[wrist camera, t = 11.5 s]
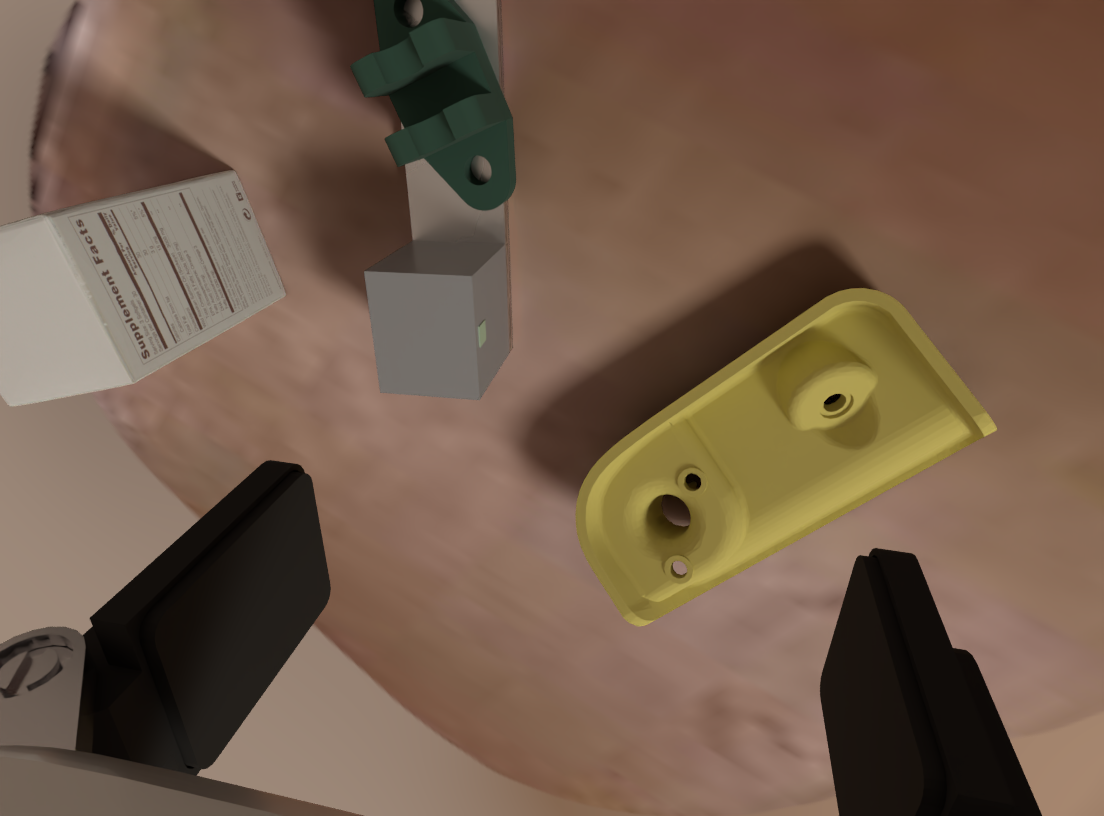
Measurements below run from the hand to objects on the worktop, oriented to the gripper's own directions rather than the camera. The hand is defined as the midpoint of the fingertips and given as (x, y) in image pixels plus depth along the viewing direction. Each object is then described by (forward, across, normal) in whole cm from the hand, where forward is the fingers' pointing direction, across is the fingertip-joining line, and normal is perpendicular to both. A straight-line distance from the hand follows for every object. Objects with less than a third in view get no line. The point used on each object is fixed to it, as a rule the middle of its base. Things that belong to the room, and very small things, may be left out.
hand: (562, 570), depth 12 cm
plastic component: (+26, -6, +11) cm, 29 cm away
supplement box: (+25, +25, +2) cm, 36 cm away
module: (+24, +10, +4) cm, 27 cm away
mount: (+25, +10, -6) cm, 27 cm away
